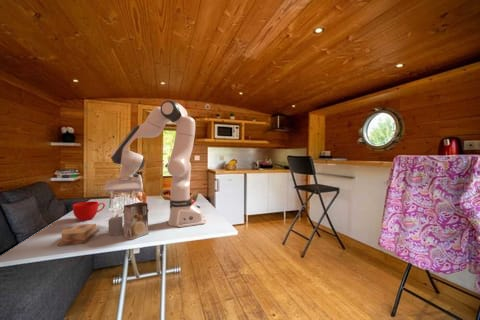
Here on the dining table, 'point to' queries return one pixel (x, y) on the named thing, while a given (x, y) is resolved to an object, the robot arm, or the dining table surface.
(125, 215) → the coffee box
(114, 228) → the grey block
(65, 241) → the display stand
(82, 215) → the red cup
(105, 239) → the dining table surface
